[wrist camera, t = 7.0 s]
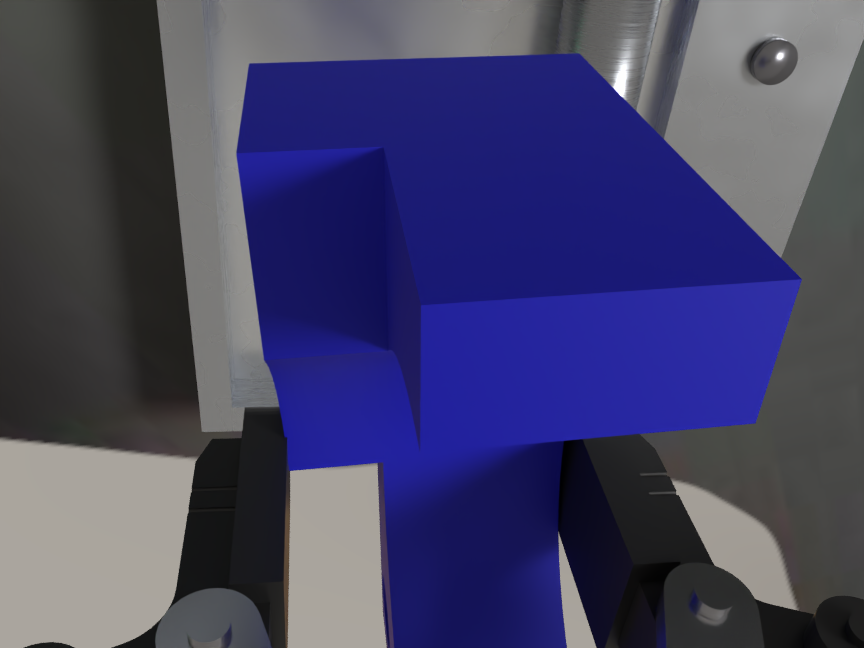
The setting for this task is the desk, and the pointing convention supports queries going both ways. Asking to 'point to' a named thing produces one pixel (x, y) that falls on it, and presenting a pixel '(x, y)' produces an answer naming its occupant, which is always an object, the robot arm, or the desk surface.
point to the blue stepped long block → (488, 308)
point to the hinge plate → (496, 36)
